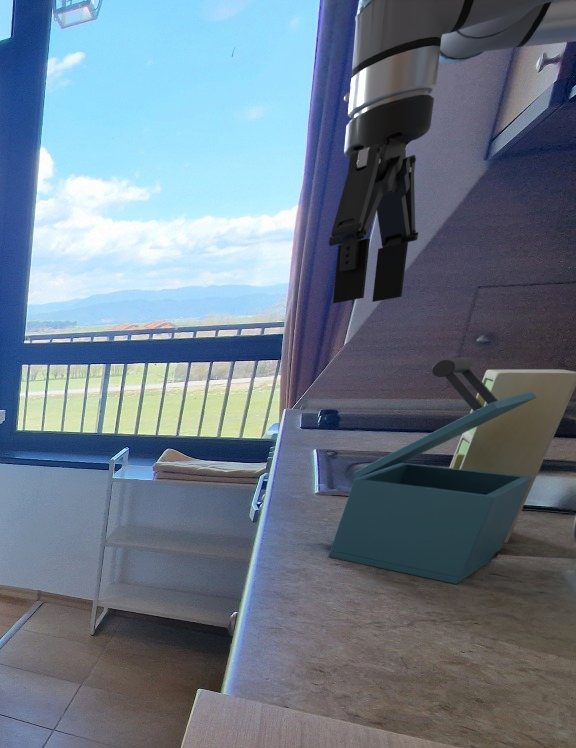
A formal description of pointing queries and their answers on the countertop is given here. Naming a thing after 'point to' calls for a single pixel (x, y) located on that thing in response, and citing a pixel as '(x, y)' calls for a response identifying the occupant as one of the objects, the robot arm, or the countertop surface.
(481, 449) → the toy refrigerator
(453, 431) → the lid
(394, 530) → the teal storage box
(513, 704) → the countertop surface
